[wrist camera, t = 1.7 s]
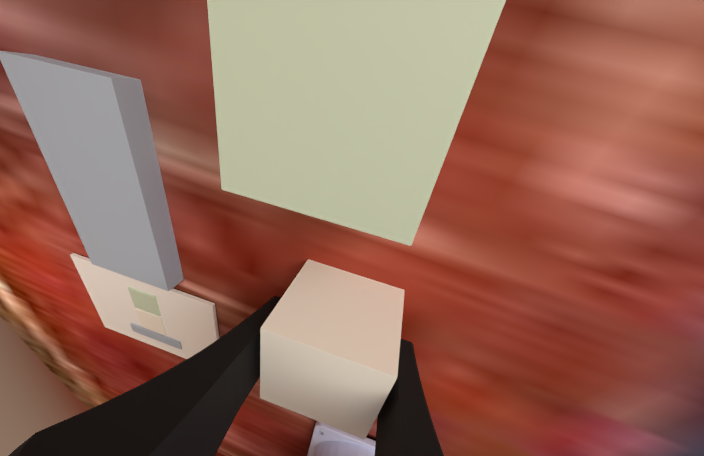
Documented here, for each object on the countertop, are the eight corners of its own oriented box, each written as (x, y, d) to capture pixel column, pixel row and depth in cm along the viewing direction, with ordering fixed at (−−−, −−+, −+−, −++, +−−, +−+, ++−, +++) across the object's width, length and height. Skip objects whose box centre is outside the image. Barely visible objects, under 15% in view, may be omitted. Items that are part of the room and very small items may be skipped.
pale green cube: (414, 187, 9) (410, 245, 5) (296, 155, 9) (221, 189, 6) (469, 27, 6) (526, -54, 3) (308, -4, 7) (199, -104, 4)
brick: (379, 349, 13) (364, 439, 10) (300, 321, 14) (260, 398, 10) (404, 288, 11) (397, 377, 7) (308, 258, 11) (260, 328, 8)
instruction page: (223, 369, 18) (220, 374, 18) (107, 324, 19) (103, 327, 19) (214, 303, 14) (211, 306, 14) (73, 253, 16) (68, 255, 15)
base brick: (190, 274, 15) (168, 291, 13) (119, 249, 15) (92, 264, 14) (152, 80, 10) (111, 78, 8) (49, 56, 10) (-5, 50, 9)
